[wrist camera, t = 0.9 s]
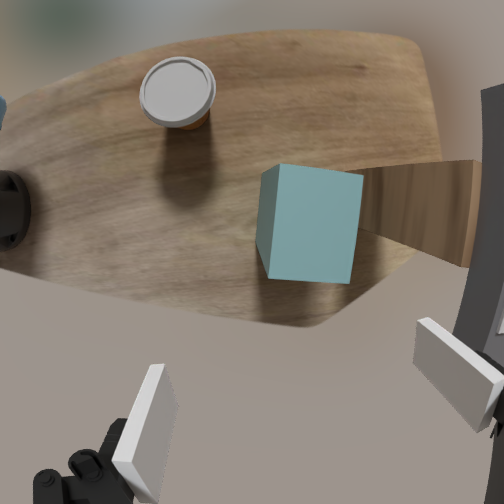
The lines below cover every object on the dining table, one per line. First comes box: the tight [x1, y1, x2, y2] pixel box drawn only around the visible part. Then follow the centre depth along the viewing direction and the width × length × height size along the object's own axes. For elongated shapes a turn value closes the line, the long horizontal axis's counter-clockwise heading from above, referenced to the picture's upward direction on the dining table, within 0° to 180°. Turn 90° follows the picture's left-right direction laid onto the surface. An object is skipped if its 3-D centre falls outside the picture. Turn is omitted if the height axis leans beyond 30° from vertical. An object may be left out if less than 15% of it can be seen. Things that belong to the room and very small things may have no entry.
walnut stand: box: [345, 160, 482, 268], centre depth 34 cm, size 6×8×30 cm
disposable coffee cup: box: [140, 57, 216, 130], centre depth 38 cm, size 10×10×12 cm
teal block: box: [255, 163, 364, 284], centre depth 38 cm, size 8×10×20 cm
